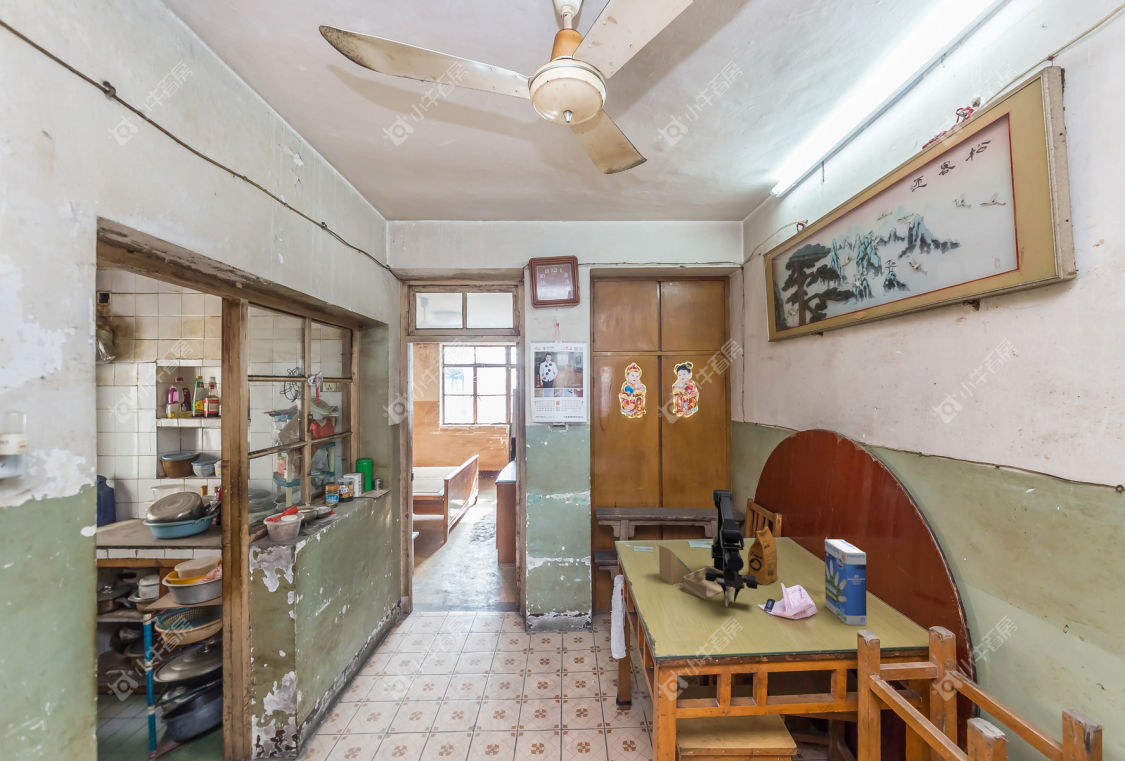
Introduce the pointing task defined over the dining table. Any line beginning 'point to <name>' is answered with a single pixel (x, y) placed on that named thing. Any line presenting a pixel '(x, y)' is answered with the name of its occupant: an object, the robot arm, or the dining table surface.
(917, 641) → the dining table surface
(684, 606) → the dining table surface
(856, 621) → the string lights box
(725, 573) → the robot arm
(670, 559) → the sandwich container
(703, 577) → the carton
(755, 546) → the coffee package
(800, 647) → the dining table surface
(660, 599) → the dining table surface
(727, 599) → the flap
